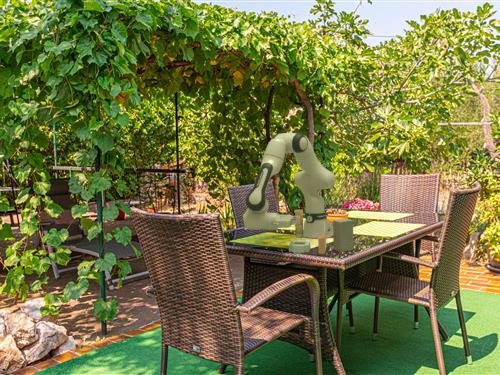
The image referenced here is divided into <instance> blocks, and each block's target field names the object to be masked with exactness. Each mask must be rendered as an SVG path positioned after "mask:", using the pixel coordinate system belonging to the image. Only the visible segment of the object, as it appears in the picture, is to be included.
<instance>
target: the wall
mask: <svg viewBox="0 0 500 375" xmlns="http://www.w3.org/2000/svg"><path fill="white" fill-rule="evenodd" d="M317 241H318V242H317V243H318V244H317V245H318V246H317V247H318V251H317V252H318V255H326V250H327V238H326V232H320V235H319V238H317Z"/></svg>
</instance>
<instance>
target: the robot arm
mask: <svg viewBox="0 0 500 375" xmlns="http://www.w3.org/2000/svg"><path fill="white" fill-rule="evenodd" d="M286 154H293V155H294V158H295V160H296V162H297V164H298V167H299V168H300V170H301V171H298V172H296V173H295V176H294V184H295V186H296V187H298V189H299V190H300V191H301V193H302V195H303V198H304V202H305V212H304V218H305V220H303V238H308V239H318V238H319V235H320V232H326V239H327V238H328V239H329V238H332V237H333V223H332V222H330V221H329V219H327V217H328V216H329V214H330V213H329V212H327V211H326V212H325V208H326V207H325V199H324V197H323V196H321V195H320V194H319V193H318V191H317V190H327V189H332V188H333V187H334V186H335V184H336V176H335V174H334V172H332V171H331V170H329V169H327V168H326V167H324V165H323V164H322V163H320V161H319V159H318V157H317V155H316V153H315V151H314V148H313V145H312V143H311V142H310V140H309V138H308V137H307V136H306V135H305V134H302V133H296V132H283V133H281V132H280V133H276V134H275V133H274V135H273V136H271V139H270V141H269V142H268V144H267V145H266V148H265V150H264V152H263V156H262V159H261V164H260V168H259V171H258V174H257V177H256V179H255V181H254V185H253V187H252V189H251V190H250V191H249V192H248V194H247V196H246V197H245V205H246V207H247V209H246V210H245V212H244V213H243V214H242V224H243V225H244V227H245V228H246V229H247V230H251V231H252V230H254V231H255V230H256V231H261V230H267V231H277V230H278V229H279V228H281V229H282V228H283V229H284V228H285V229H287V228H291V226H295V225H296V224H300V223H301V221H300V220H297V221H295V215H292V214H280V213H278V212H268V211H269V207H270V206H269V205H270V204H269V201H268V199H267V198H266V190H267V187H268V184H269V183H270V180H271V177H273V176H275V175H277V174H279V173H280V171H281V169H282V167H283V164H284V160H285V157H286Z"/></svg>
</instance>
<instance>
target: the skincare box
mask: <svg viewBox="0 0 500 375" xmlns="http://www.w3.org/2000/svg"><path fill="white" fill-rule="evenodd" d="M332 225H333V236H332V237H333V238H332V239H333V251H337V252H339V253H345V252H350V251H351V252H352V251H354V220H353V219H350V218H341V219H334V220H332Z"/></svg>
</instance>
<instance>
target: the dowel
mask: <svg viewBox="0 0 500 375" xmlns="http://www.w3.org/2000/svg"><path fill="white" fill-rule="evenodd" d="M294 214H295V215H294V218H295V221H297V220H300V221H301V223H300V224H296V225H294V226H295V228H294V230H295V231H294V233H295V238H296V239H302V238H304V236H303V230H304V210H303V209H295V210H294Z"/></svg>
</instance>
